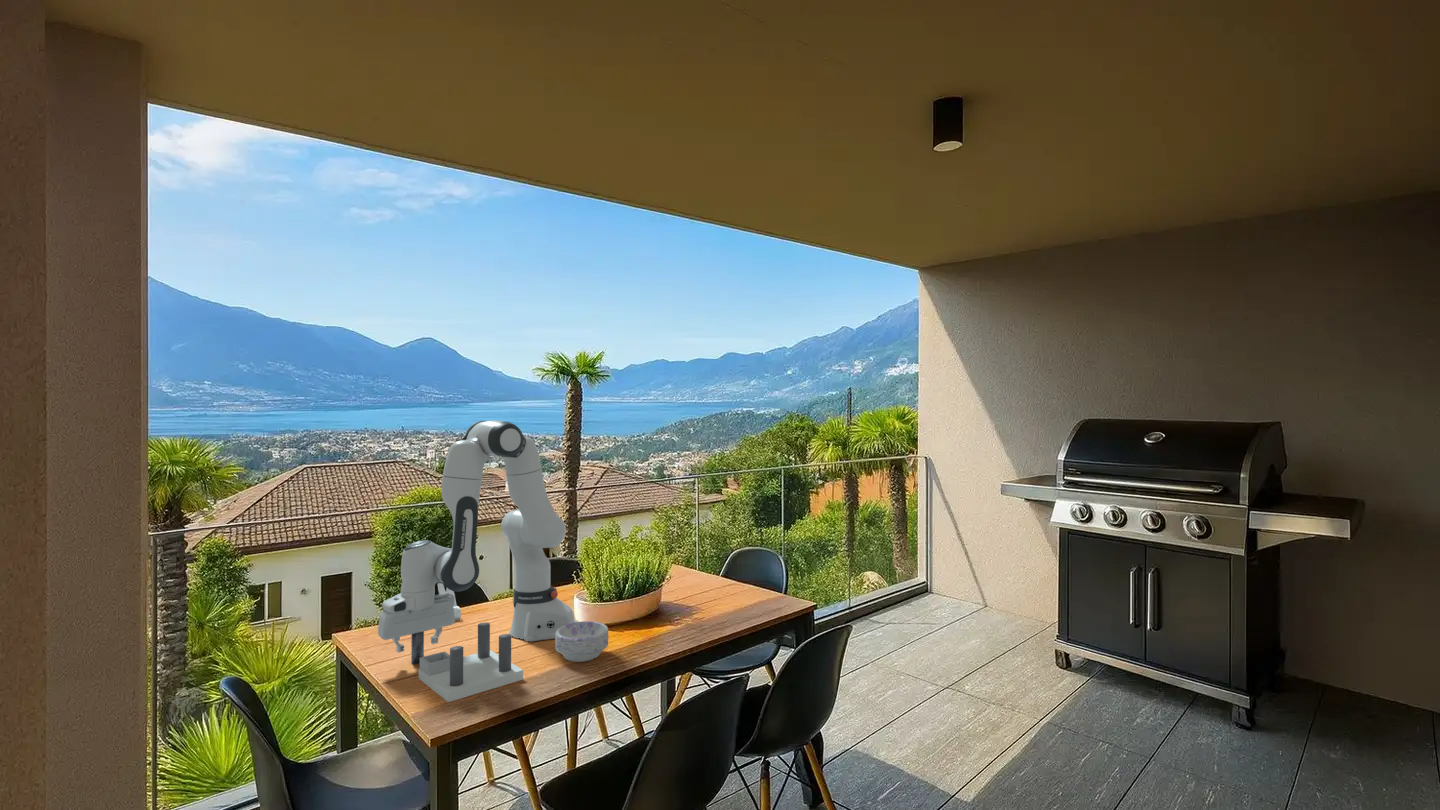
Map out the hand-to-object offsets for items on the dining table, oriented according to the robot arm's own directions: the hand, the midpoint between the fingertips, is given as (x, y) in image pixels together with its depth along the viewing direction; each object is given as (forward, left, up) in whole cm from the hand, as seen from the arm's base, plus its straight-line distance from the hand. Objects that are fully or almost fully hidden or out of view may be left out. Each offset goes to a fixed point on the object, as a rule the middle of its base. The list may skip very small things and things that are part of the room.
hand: (417, 647), depth 189 cm
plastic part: (+1, -39, -4) cm, 39 cm away
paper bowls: (-46, +4, -4) cm, 46 cm away
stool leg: (0, 0, -4) cm, 4 cm away
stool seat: (-17, +15, -4) cm, 23 cm away
